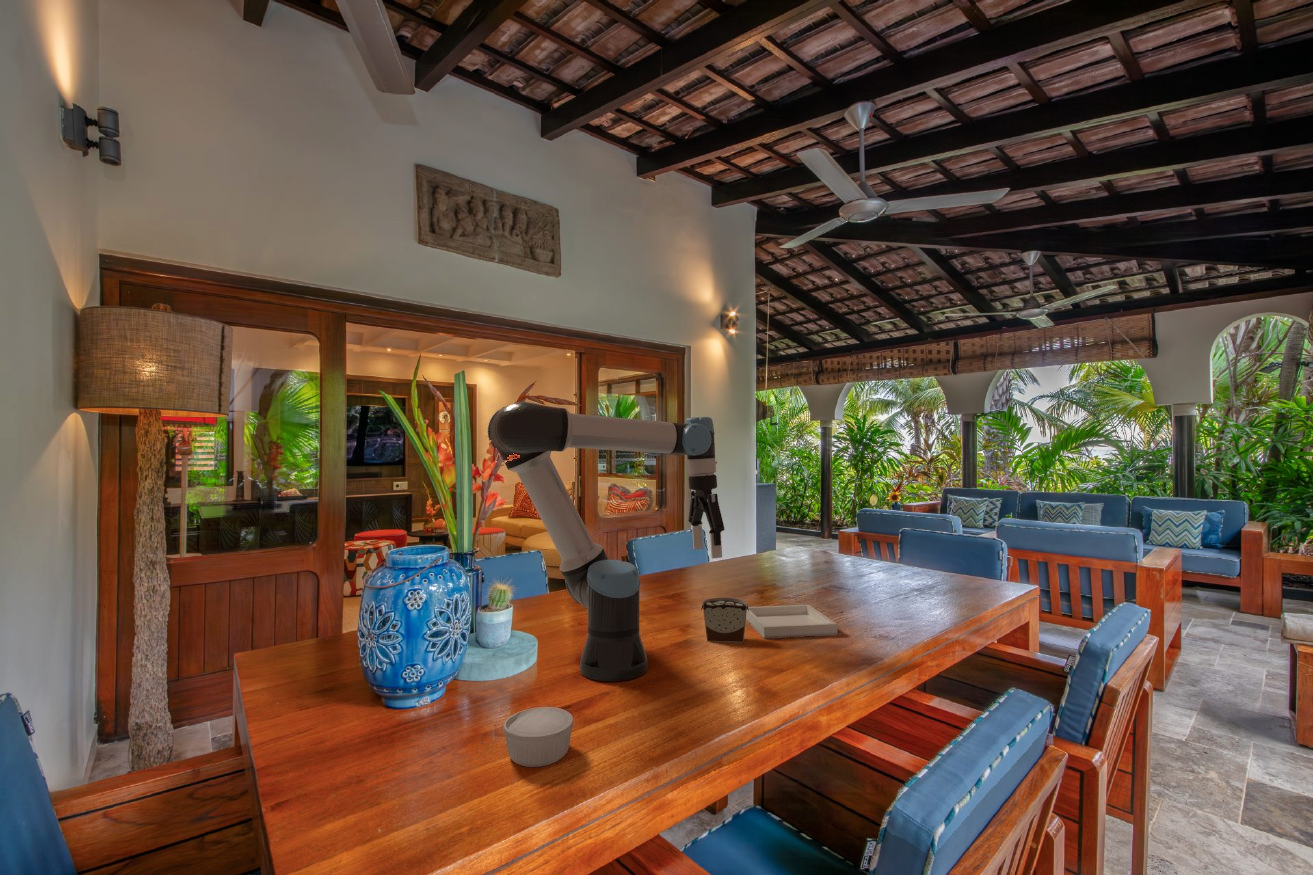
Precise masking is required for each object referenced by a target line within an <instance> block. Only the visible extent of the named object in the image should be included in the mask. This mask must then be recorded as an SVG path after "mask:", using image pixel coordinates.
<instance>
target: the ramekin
mask: <svg viewBox="0 0 1313 875" xmlns="http://www.w3.org/2000/svg"><path fill="white" fill-rule="evenodd" d="M573 727H574V716H573V715H572V714H571V712H569V711H567V710H566V709H562V708H559V707H553V706H542V707H541V706H538V707H531V708H527V709H524V710H520V711H518V712H516V713H513V714H512V715H511V716H509V717H507V719H506V720H505V721H504V723H503V734H504V736H505V741H506V746H507V747H506V748H507V753H508V757H510V759H511V761H512V762H514V763H515V764H517V765H519V766H523V767H527V768H528V767H529V768H539V767H545V766H549V765H552V764H554V763H556V762H558V761H560V760H562V759H563V757H565V755H566V754H567V753H568V751H569V748H570V743H571V738H572V737H571V736H572V731H573Z"/></svg>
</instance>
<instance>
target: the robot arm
mask: <svg viewBox="0 0 1313 875" xmlns="http://www.w3.org/2000/svg"><path fill="white" fill-rule="evenodd" d="M519 409H520V410H519ZM487 437H488V440H489V441H490V440H492V442H491V443H490V444H491V445H490V446H492V447H493V448H494V449H495V448H497V450H498V451H497V450H496V451H497V452H498V453H499V455H500V457H501V460H502V461H503V460H509V459H507V457H509V455H514V454H517V455H520V458H517V459H513V460H512V461H507V462H506V463H504V465H505V467H506V468H507V470H508V471H510V472H514V473H516V474H517V475H518V477H519V479H520V481H521V483H522V484H523V487H524V489H525V491H526V493H527V494H528V497H529V499H530V501H531V502H532V505H533V506H534V508H535V510H536V513H537V514H538V516H539V518H540V520H541V522H542V524H543V526H544V527H545V529H546V532H547V534H548V535H549V537H550V539H551V541H552V543H553V545H554V547H555V549H556V551H557V553H558V556H560V558H561V560H560V564H559V571H560V572H561V575H562V576H563V578H564V582H565V587H566V590H567V592H568V594H569V596H570V597H571V598H572V599H573V600H574V601H575V602H576V603H577V604H579V605H582V606H583V607H584V608H585V609H586V610H587V637H586V641H585V643H584V647H583V650H582V653H581V657H580V658H579V659H580V661H579V668H580V669H579V672H580V673H581V675H582V676H584V677H585V678H586V679H587V678H588V679H590V680H593V681H599V682H624V681H628V680H633V679H636V678H639V677H641V676H643V675H644V674H645V673H646V672H647V671H648V656H647V653H646V649H645V647H644V644H643V640H642V638H641V635H640V633H641V632H640V606H641V605H640V592H641V591H640V587H641V579H640V575H639V574H640V573H639V570H638V567H637V566H635V564H633V563H630V562H629V561H622V560H620V559H609V557H608V555H607V553H606V550H605V549H604V547H603V545H602V544H599V543H595V542H594V541H593V538H592V537H591V535H590V533H589V531H588V529H587V527H586V526H585V523H584V521H583V519H582V517H581V516H580V513H579V511H578V509H577V507H576V506H575V504H574V502H573V499H572V498H571V495H570V493H569V491H568V489H567V488H566V486H565V483H564V481H563V479H562V478H561V476H560V474H559V472H558V470H557V468H556V466H555V464H554V461H553V459H552V458H551V454H552V452H562V453H563V452H564V451H565V450H567V449H568V448H572V449H573V448H575V449H589V450H590V449H591V450H605V451H606V450H607V451H618V452H619V451H620V452H621V451H622V452H625V451H626V452H635V453H647V455H648V456H651V457H654V456H656V457H657V456H658V457H661V456H686V457H687V460H686V461H687V474H688V475H689V476H688V486H689V489H690V505H689V512H688V513H689V514H688V521H687V522H688V523H690V525H691V531H692V547H693V548H692V549H693V550H694V551H696V550H704V539H703V536H704V535H703V521H702V520H703V516H704V513H705V517H706V519H707V522H708V525H709V529H710V530H709V531H708V533H709V538H710V540H709V542H710V554H711V555H710V556H711V559H719V558H720V559H721V558H723V550H722V549H723V548H722V545H723V544H722V532H724V531H725V526H724V525H725V524H724V520H723V516H722V513H721V509H720V502H719V498H718V496H719V495H718V494H717V493H713V491H712V490H715V489H717V487H718V479H717V478H718V477H717V475H716V472H717V467H716V466H717V464H718V461H717V460H716V445H715V444H716V443H715V428H714V421H713V419H712V417H710V416H699V417H688V418H685V420H684V423H682V422H681V423H680V422H671V421H659V420H649V419H637V418H628V417H627V418H625V417H614V416H605V415H594V414H593V415H592V414H583V413H582V414H581V413H571V412H570V411H569V410H568V409H567V408H566V407H556V406H550V405H543V404H539V403H534V402H527V401H518V402H514V403H511V404H509V405H507V406H506V405H505V406H502V407H501V408H500V409H497V411H495V413H493V415H492V417H490V420H489V423H488V427H487ZM513 453H514V454H513ZM515 457H517V456H515ZM513 458H514V457H513Z"/></svg>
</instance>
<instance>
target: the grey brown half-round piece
mask: <svg viewBox="0 0 1313 875" xmlns="http://www.w3.org/2000/svg"><path fill="white" fill-rule="evenodd" d="M748 607H749V605H748V603H747V602H746V601H745V600H743V599H740V598H734V597H714V598H713V597H712V598H708V599H705V600H703V601H702V604H701V608H700V611H703V618H704V628H705V635H706V642H707V641H713V643H745V642H744V641H745V631H746V622H747V620H746V612H747V610H748V611H749V608H748Z"/></svg>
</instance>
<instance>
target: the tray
mask: <svg viewBox="0 0 1313 875" xmlns="http://www.w3.org/2000/svg"><path fill="white" fill-rule="evenodd" d="M748 608H749V611H748V610H747V612H746V622H747V621H748V622H747V623H748V624H749V623H750V624H749V625H751V627H752V628H753V629H754V630H755V631H756V632H757V633H758V634H759V635H760V636H761V637H762V638H763V639H764V640H769V639H772V640H773V639H790V638H789V637H794V638H805V637H804V636H815V637H832V636H838V635H839V634H838V632H839V631H838V630H839V629H838V623H837V622H835V621H834V620H832V619H831V618H830V617H828V616H826V615H825V614H823V613H821V611H819V610H817V609H815V608H814V607H813V606H811V605H810V604H794V605H793V604H792V605H766V606H765V605H763V606H748ZM787 637H788V638H787Z"/></svg>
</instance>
